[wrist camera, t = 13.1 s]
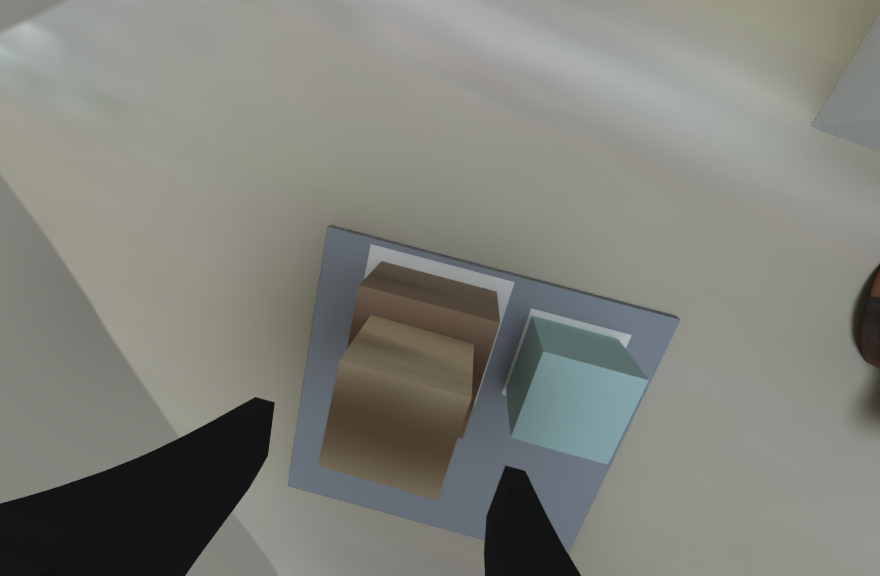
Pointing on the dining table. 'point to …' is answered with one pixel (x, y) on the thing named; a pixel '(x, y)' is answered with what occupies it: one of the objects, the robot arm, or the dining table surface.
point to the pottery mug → (871, 326)
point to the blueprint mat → (487, 433)
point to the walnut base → (431, 311)
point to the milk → (857, 97)
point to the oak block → (398, 406)
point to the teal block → (572, 390)
